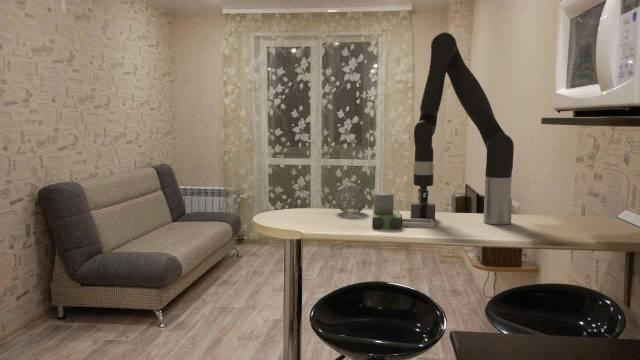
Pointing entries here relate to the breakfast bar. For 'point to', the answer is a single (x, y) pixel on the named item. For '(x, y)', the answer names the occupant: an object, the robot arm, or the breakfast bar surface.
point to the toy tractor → (393, 214)
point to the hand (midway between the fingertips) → (422, 216)
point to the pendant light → (351, 194)
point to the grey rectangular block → (416, 211)
